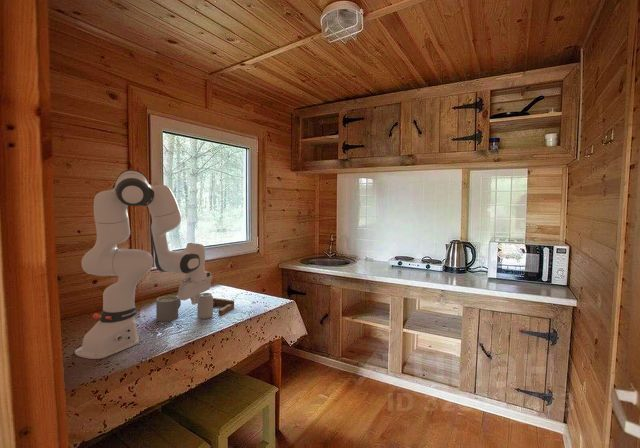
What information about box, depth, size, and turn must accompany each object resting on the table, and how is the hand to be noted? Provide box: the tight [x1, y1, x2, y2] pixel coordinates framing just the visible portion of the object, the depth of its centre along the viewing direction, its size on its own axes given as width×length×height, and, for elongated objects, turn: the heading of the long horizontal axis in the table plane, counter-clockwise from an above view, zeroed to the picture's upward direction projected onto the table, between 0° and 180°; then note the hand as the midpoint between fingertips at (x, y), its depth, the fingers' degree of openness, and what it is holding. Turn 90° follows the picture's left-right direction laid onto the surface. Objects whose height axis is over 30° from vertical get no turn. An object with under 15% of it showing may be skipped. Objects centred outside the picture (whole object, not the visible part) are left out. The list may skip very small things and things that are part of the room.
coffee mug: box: [155, 295, 182, 323], centre depth 160 cm, size 13×10×10 cm
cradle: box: [213, 297, 235, 316], centre depth 172 cm, size 12×13×4 cm
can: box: [197, 292, 214, 320], centre depth 161 cm, size 8×8×12 cm
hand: (194, 303), depth 153 cm, fingers closed
